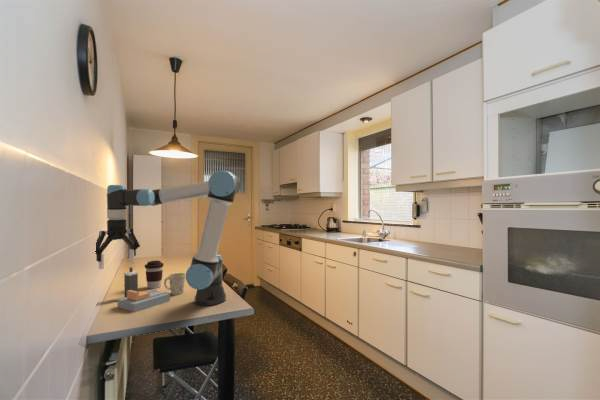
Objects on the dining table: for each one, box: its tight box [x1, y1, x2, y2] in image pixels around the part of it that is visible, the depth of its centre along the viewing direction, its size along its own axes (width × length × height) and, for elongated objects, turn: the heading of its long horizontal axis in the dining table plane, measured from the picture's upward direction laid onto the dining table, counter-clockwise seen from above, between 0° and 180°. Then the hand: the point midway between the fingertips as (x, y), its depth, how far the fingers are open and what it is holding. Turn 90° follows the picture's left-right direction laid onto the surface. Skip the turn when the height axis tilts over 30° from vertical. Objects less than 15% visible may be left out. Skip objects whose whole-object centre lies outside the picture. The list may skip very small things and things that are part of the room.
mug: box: [163, 272, 186, 296], centre depth 168 cm, size 8×13×10 cm, turn 78°
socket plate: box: [116, 288, 171, 313], centre depth 150 cm, size 14×18×4 cm
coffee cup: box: [144, 260, 164, 290], centre depth 180 cm, size 10×10×15 cm
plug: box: [123, 266, 139, 298], centre depth 161 cm, size 5×5×16 cm
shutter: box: [127, 290, 150, 301], centre depth 148 cm, size 7×7×4 cm
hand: (117, 266), depth 140 cm, fingers open, 13 cm apart
